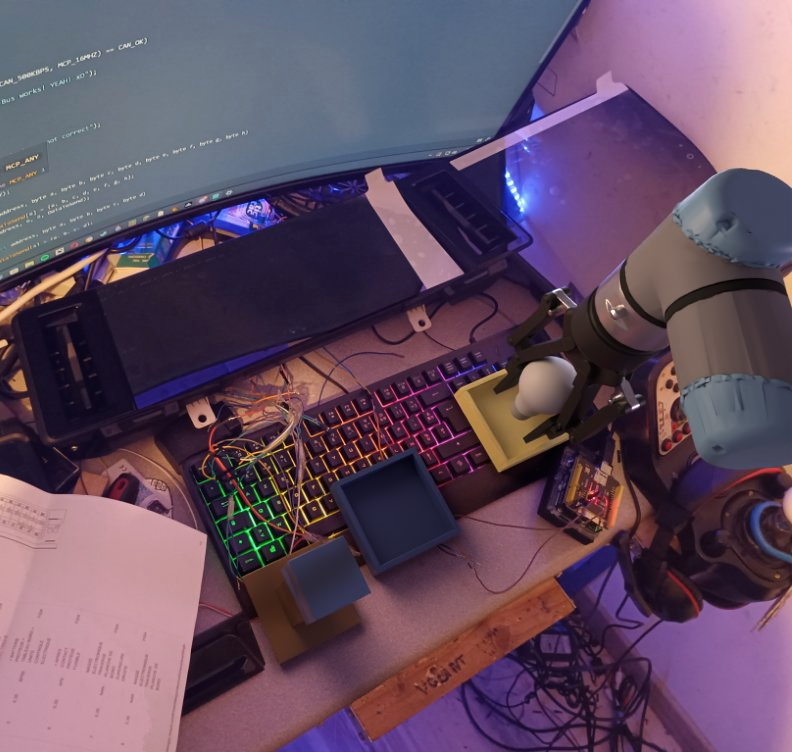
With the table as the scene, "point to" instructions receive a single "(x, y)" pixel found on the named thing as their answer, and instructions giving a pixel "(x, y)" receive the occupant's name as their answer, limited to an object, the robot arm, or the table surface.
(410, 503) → the navy tray
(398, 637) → the table surface
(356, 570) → the blue block
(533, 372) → the lightbulb
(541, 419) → the pale tray
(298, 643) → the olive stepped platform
